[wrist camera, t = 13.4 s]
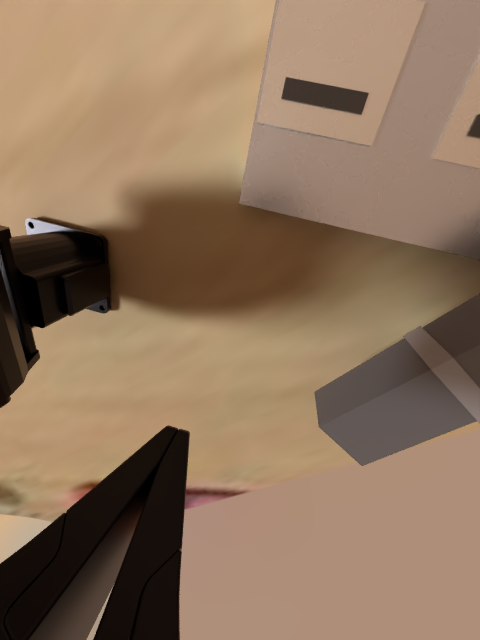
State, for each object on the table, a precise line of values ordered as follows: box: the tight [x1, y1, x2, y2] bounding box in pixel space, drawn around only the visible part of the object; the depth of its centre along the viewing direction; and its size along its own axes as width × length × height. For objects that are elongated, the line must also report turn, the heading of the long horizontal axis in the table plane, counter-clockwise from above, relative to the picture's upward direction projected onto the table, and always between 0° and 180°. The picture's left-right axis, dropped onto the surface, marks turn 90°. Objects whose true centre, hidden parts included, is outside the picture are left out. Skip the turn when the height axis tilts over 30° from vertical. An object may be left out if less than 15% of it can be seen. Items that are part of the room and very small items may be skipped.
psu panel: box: [239, 0, 480, 260], centre depth 12 cm, size 18×13×2 cm
